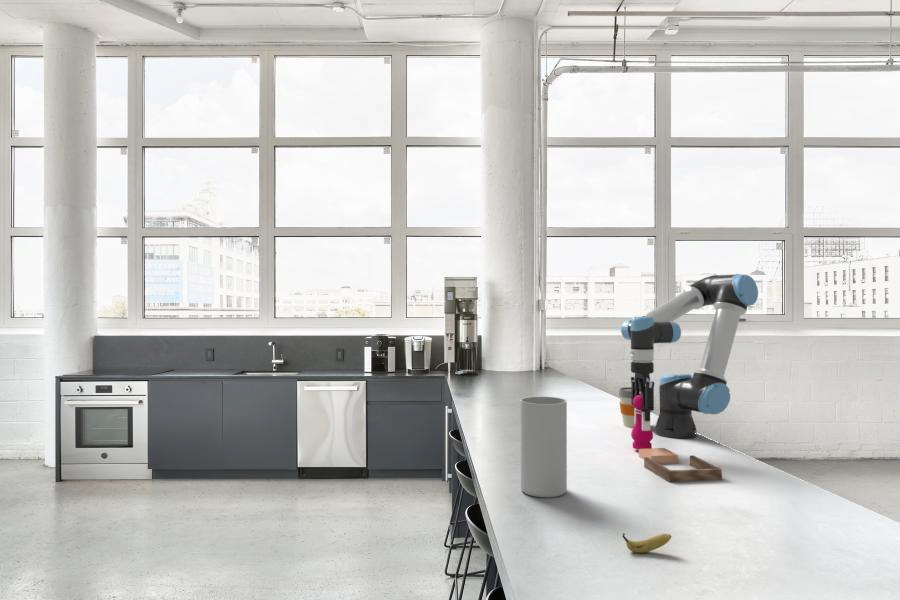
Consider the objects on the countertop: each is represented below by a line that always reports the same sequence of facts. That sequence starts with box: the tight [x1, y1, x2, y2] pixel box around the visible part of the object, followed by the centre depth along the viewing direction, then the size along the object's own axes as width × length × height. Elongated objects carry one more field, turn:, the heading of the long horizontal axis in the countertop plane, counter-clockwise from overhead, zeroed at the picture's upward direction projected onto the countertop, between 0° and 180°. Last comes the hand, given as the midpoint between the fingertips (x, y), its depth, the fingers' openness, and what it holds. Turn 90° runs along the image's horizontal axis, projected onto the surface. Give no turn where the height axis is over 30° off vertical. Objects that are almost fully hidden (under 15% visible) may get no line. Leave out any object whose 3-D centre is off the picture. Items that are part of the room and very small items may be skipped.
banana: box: [621, 532, 672, 554], centre depth 127 cm, size 10×2×4 cm, turn 87°
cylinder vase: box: [520, 396, 568, 499], centre depth 168 cm, size 12×12×25 cm
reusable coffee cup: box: [618, 386, 634, 429], centre depth 252 cm, size 13×12×15 cm
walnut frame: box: [643, 455, 723, 483], centre depth 184 cm, size 16×16×3 cm
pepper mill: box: [630, 392, 654, 451], centre depth 211 cm, size 7×7×20 cm
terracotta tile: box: [638, 447, 679, 465], centre depth 199 cm, size 9×9×3 cm
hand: (642, 428), depth 211 cm, fingers closed on pepper mill, 5 cm apart
